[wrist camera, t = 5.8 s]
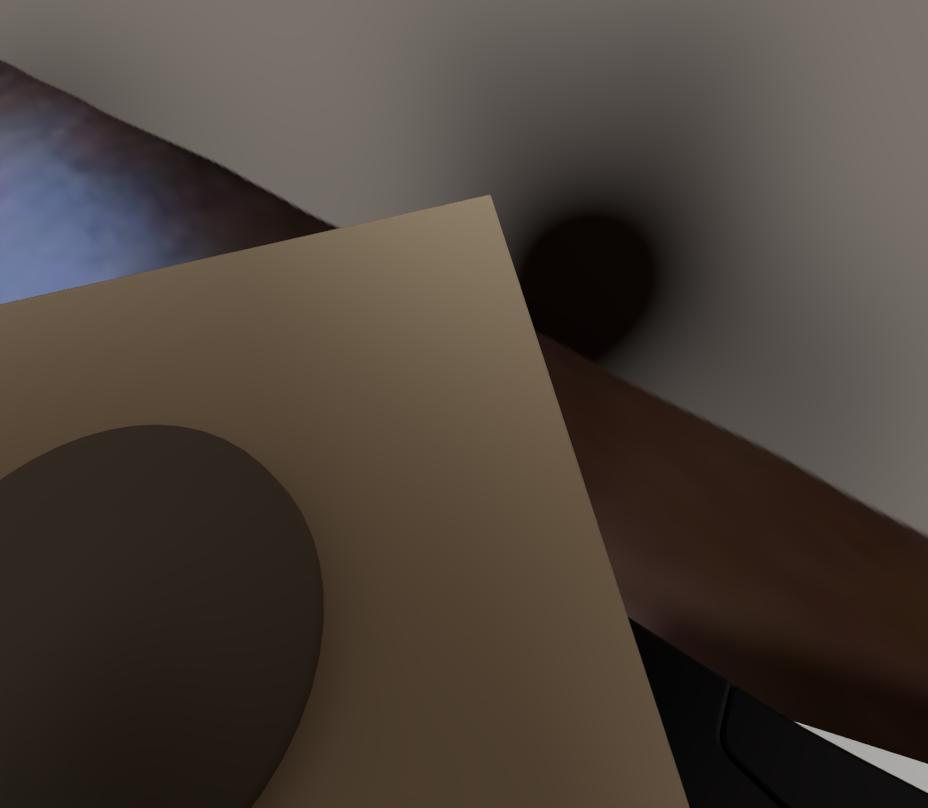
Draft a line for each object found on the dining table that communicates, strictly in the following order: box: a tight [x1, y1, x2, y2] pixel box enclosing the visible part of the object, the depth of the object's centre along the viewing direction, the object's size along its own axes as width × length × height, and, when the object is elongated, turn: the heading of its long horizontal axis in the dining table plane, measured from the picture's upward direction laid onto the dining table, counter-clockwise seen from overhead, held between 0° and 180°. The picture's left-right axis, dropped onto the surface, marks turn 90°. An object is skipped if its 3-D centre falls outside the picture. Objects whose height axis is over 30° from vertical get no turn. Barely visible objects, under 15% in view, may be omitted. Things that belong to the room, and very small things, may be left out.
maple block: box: [0, 195, 690, 808], centre depth 9 cm, size 4×4×14 cm
